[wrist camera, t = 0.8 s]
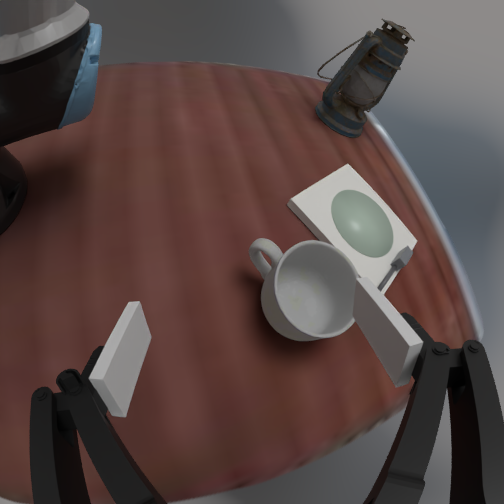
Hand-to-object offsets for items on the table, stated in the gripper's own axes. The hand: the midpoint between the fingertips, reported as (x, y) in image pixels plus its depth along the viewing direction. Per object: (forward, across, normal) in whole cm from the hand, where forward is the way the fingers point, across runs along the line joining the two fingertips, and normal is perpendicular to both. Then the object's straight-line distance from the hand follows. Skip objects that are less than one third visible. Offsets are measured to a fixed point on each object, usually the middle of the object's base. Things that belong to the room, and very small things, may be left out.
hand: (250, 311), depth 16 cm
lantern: (+54, +26, +15) cm, 61 cm away
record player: (+29, +20, -5) cm, 35 cm away
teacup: (+17, +4, -10) cm, 20 cm away
